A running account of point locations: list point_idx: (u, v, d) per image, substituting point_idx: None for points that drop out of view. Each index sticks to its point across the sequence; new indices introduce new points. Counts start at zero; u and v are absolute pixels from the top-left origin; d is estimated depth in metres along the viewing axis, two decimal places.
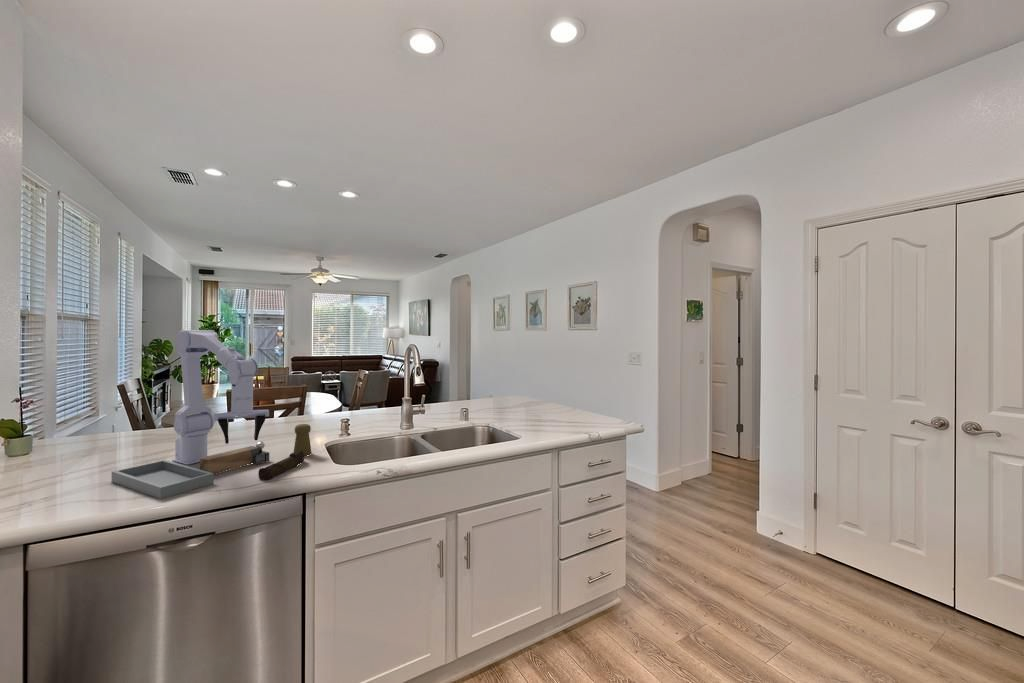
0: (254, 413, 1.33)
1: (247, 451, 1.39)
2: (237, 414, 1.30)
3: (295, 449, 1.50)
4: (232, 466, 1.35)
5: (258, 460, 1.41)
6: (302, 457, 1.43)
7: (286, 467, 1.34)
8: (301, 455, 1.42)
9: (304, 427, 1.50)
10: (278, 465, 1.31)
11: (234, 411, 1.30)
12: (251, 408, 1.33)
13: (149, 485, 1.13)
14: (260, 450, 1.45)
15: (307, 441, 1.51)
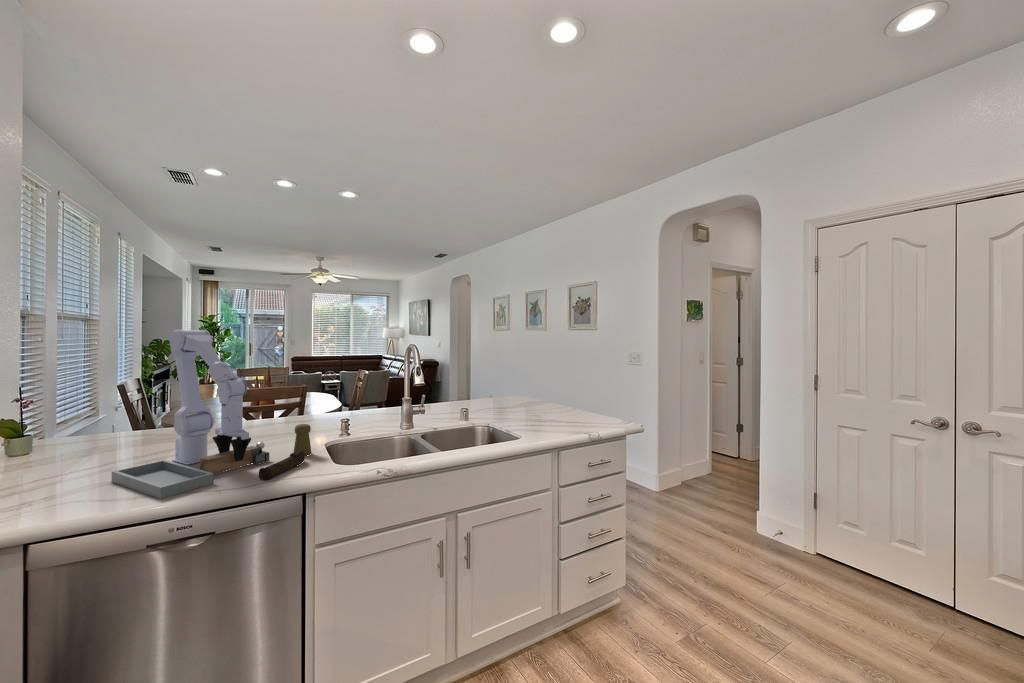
0: (231, 434, 1.33)
1: (247, 451, 1.39)
2: None
3: (295, 449, 1.50)
4: (232, 466, 1.35)
5: (258, 460, 1.41)
6: (302, 457, 1.43)
7: (286, 467, 1.34)
8: (301, 455, 1.42)
9: (304, 427, 1.50)
10: (278, 465, 1.31)
11: None
12: (231, 428, 1.34)
13: (149, 485, 1.13)
14: (260, 450, 1.45)
15: (307, 441, 1.51)
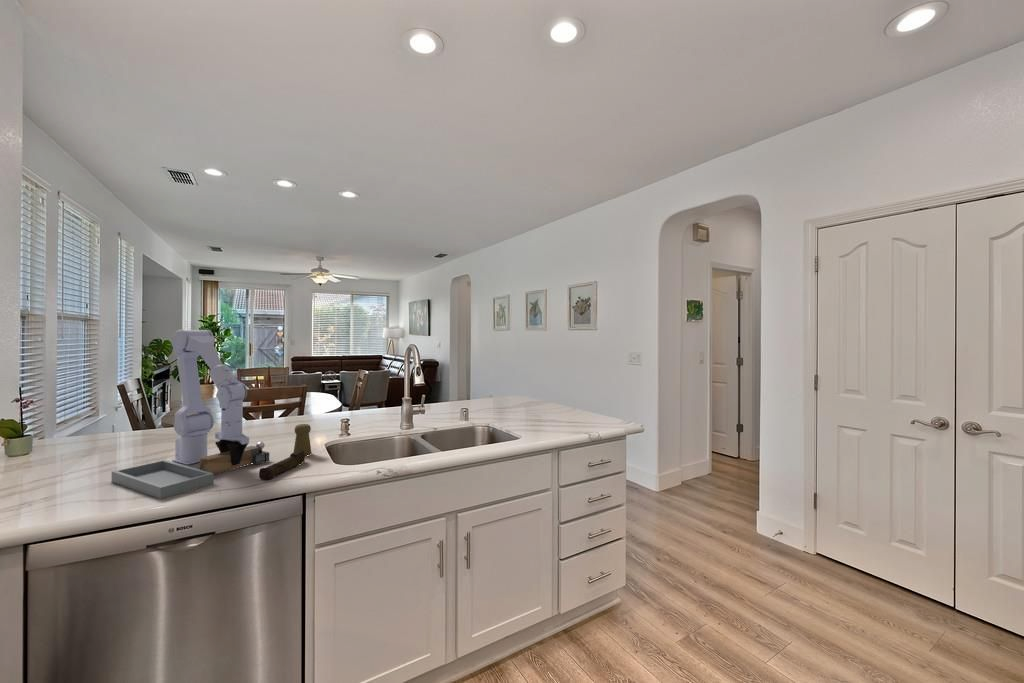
0: (231, 438, 1.33)
1: (247, 451, 1.39)
2: (220, 436, 1.35)
3: (295, 449, 1.50)
4: (233, 465, 1.35)
5: (258, 460, 1.41)
6: (303, 457, 1.43)
7: (287, 467, 1.34)
8: (302, 455, 1.42)
9: (304, 427, 1.50)
10: (279, 465, 1.31)
11: None
12: (231, 433, 1.34)
13: (149, 485, 1.13)
14: (260, 450, 1.45)
15: (307, 441, 1.51)
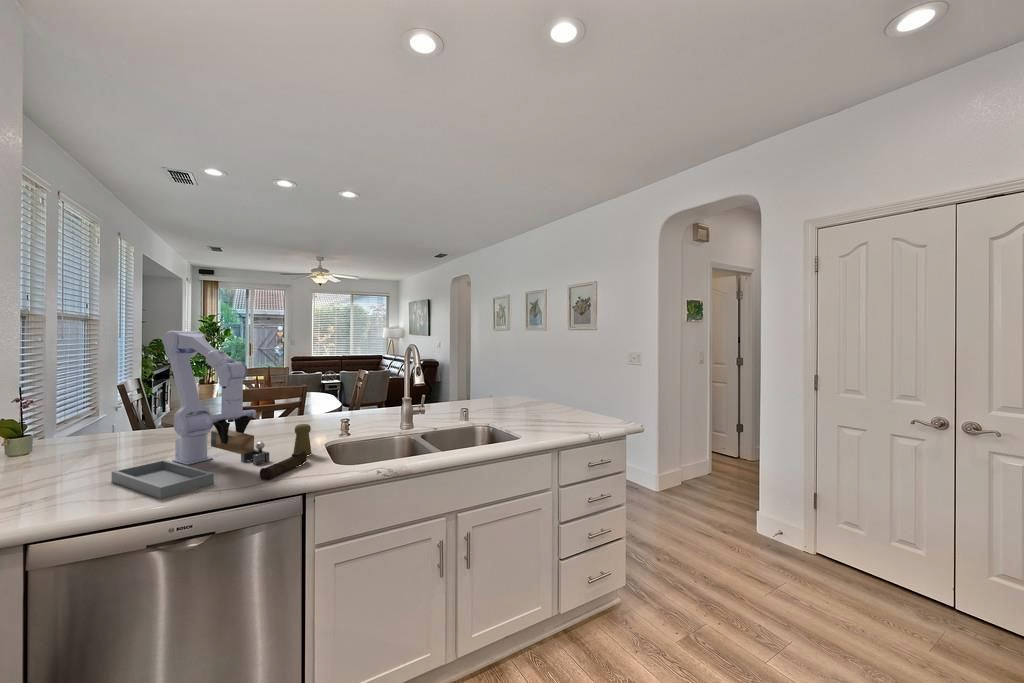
0: (245, 413, 1.38)
1: None
2: (232, 415, 1.34)
3: (295, 449, 1.50)
4: None
5: (258, 460, 1.41)
6: (304, 457, 1.43)
7: (288, 467, 1.34)
8: (303, 455, 1.42)
9: (304, 427, 1.50)
10: (279, 465, 1.31)
11: (228, 412, 1.34)
12: (242, 409, 1.38)
13: (149, 485, 1.13)
14: (260, 450, 1.45)
15: (307, 441, 1.51)
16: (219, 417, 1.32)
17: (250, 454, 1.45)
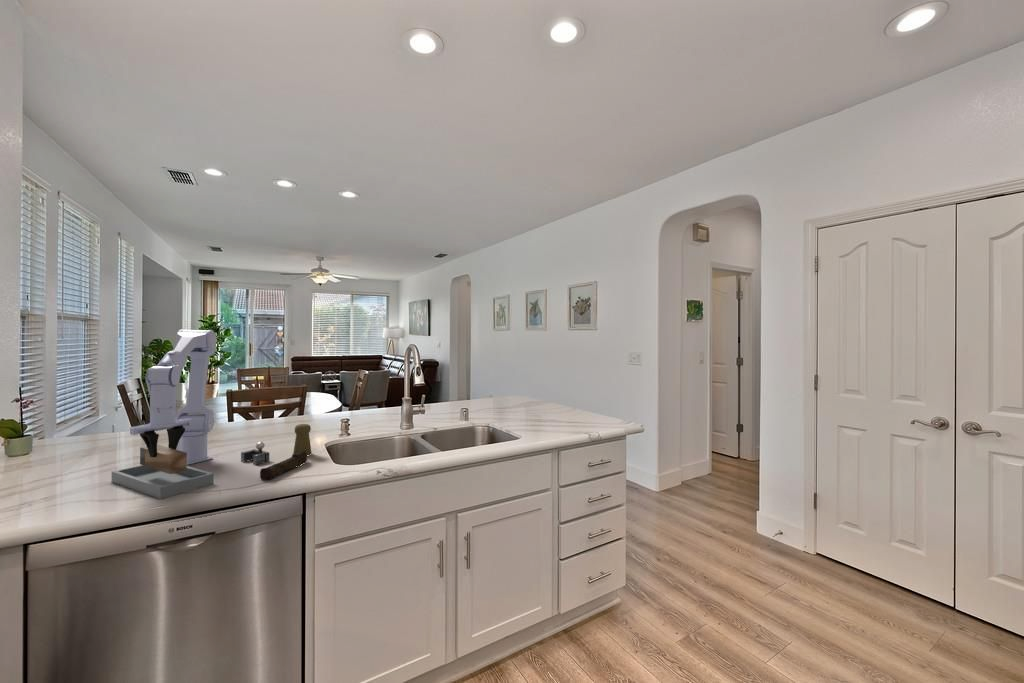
0: (179, 423, 1.24)
1: None
2: (162, 425, 1.20)
3: (295, 449, 1.50)
4: None
5: (258, 460, 1.41)
6: (305, 457, 1.43)
7: (288, 467, 1.34)
8: (304, 455, 1.42)
9: (304, 427, 1.50)
10: (280, 465, 1.31)
11: (157, 422, 1.19)
12: (175, 418, 1.23)
13: (149, 485, 1.13)
14: (260, 450, 1.45)
15: (307, 441, 1.51)
16: (146, 428, 1.17)
17: (250, 454, 1.45)
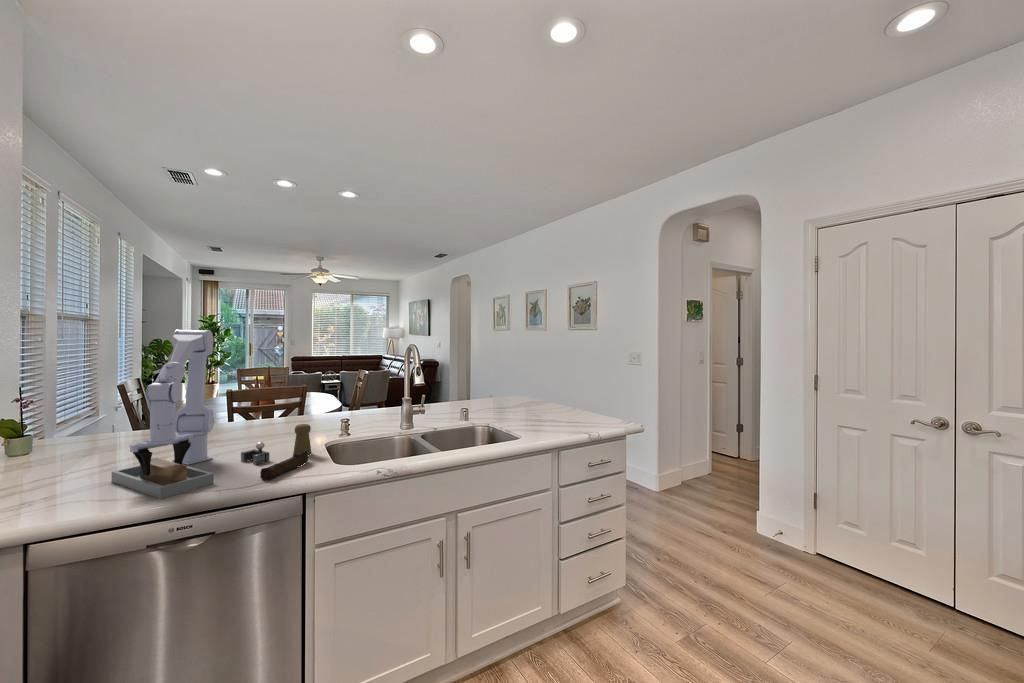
0: (179, 439, 1.24)
1: None
2: (162, 442, 1.20)
3: (295, 449, 1.50)
4: None
5: (258, 460, 1.41)
6: (306, 457, 1.43)
7: (289, 467, 1.34)
8: (305, 455, 1.42)
9: (304, 427, 1.50)
10: (280, 465, 1.31)
11: (157, 439, 1.19)
12: (175, 434, 1.23)
13: (149, 485, 1.13)
14: (260, 450, 1.45)
15: (307, 441, 1.51)
16: (146, 445, 1.17)
17: (250, 454, 1.45)
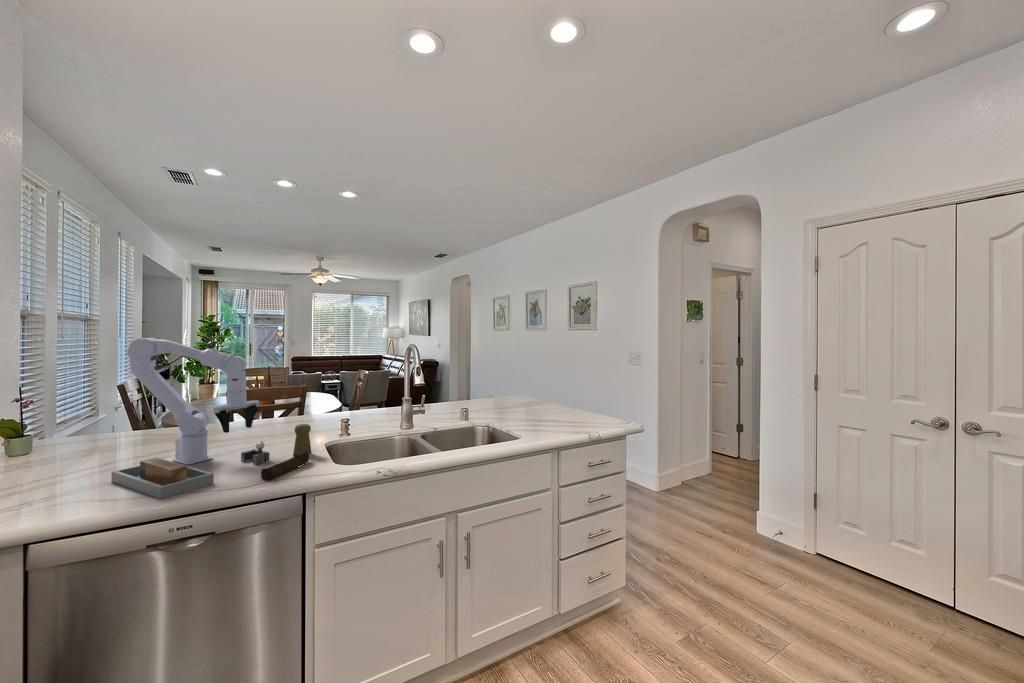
0: (249, 403, 1.50)
1: None
2: (237, 405, 1.45)
3: (295, 449, 1.50)
4: None
5: (258, 460, 1.41)
6: (306, 458, 1.43)
7: (289, 468, 1.34)
8: (305, 456, 1.42)
9: (304, 427, 1.50)
10: (281, 465, 1.30)
11: (233, 402, 1.45)
12: (246, 399, 1.49)
13: (149, 485, 1.13)
14: (260, 450, 1.45)
15: (307, 441, 1.51)
16: (225, 407, 1.43)
17: (250, 454, 1.45)
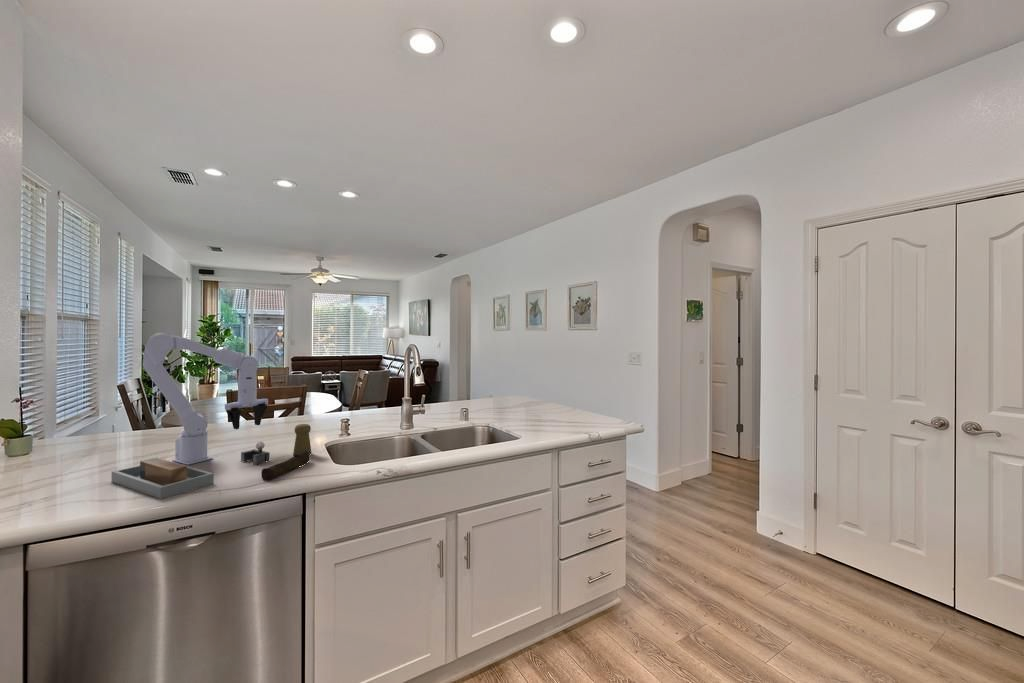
0: (259, 401, 1.55)
1: None
2: (247, 403, 1.50)
3: (295, 449, 1.50)
4: None
5: (258, 460, 1.41)
6: (307, 457, 1.43)
7: (290, 467, 1.34)
8: (306, 455, 1.42)
9: (304, 427, 1.50)
10: (281, 465, 1.30)
11: (244, 400, 1.50)
12: (256, 397, 1.54)
13: (149, 485, 1.13)
14: (260, 450, 1.45)
15: (307, 441, 1.51)
16: (236, 404, 1.48)
17: (250, 454, 1.45)
